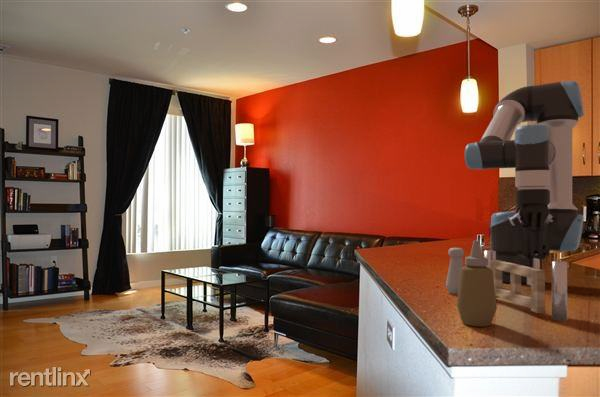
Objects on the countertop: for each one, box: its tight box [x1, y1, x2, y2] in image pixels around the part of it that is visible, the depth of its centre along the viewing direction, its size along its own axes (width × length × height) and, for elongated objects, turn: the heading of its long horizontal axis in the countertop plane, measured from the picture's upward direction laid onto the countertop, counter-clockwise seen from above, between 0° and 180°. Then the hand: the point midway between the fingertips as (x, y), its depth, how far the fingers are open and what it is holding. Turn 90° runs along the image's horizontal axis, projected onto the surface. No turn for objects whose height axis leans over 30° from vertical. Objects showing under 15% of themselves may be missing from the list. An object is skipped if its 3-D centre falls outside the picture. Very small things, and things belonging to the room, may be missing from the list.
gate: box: [491, 260, 546, 314], centre depth 111 cm, size 18×2×10 cm, turn 9°
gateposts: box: [483, 249, 568, 322], centre depth 112 cm, size 25×3×13 cm, turn 18°
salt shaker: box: [445, 247, 465, 296], centre depth 129 cm, size 6×6×13 cm
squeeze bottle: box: [456, 240, 497, 328], centre depth 98 cm, size 8×8×18 cm
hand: (533, 285), depth 110 cm, fingers closed
